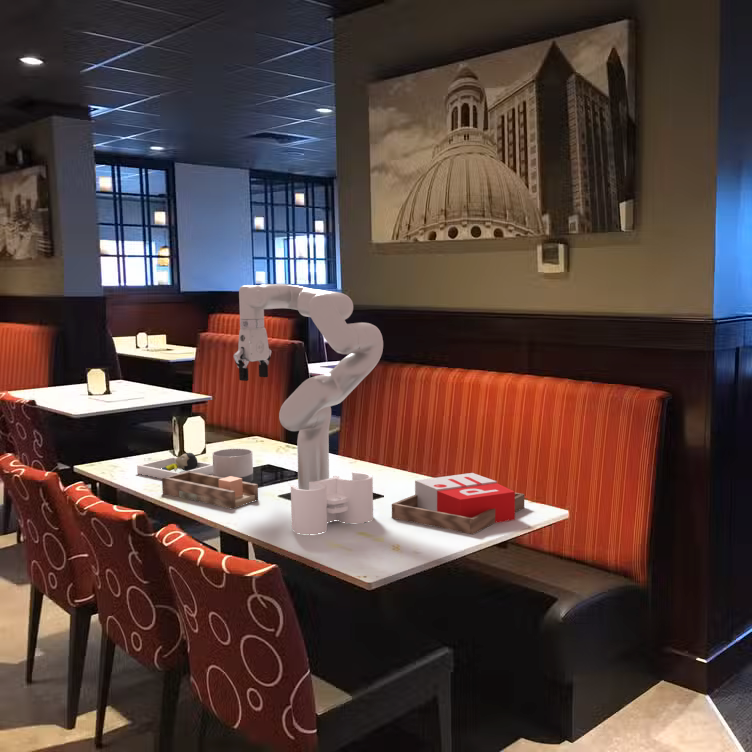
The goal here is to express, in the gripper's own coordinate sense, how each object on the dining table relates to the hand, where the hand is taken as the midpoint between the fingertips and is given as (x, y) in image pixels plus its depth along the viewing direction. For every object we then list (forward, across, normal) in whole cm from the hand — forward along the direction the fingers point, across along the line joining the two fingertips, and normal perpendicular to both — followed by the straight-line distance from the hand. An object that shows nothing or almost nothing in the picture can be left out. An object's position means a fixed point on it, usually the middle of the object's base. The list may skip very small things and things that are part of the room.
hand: (253, 378), depth 260 cm
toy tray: (+35, +2, +37) cm, 51 cm away
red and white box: (+36, +7, -70) cm, 79 cm away
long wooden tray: (+35, -16, +7) cm, 39 cm away
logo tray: (+36, +6, -69) cm, 78 cm away
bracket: (+36, -20, -44) cm, 60 cm away
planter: (+36, 0, +10) cm, 37 cm away
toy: (+35, +2, +37) cm, 51 cm away
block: (+33, -17, -3) cm, 37 cm away
